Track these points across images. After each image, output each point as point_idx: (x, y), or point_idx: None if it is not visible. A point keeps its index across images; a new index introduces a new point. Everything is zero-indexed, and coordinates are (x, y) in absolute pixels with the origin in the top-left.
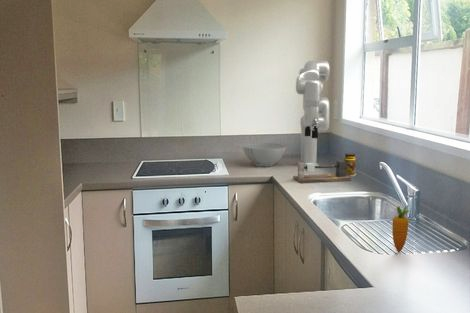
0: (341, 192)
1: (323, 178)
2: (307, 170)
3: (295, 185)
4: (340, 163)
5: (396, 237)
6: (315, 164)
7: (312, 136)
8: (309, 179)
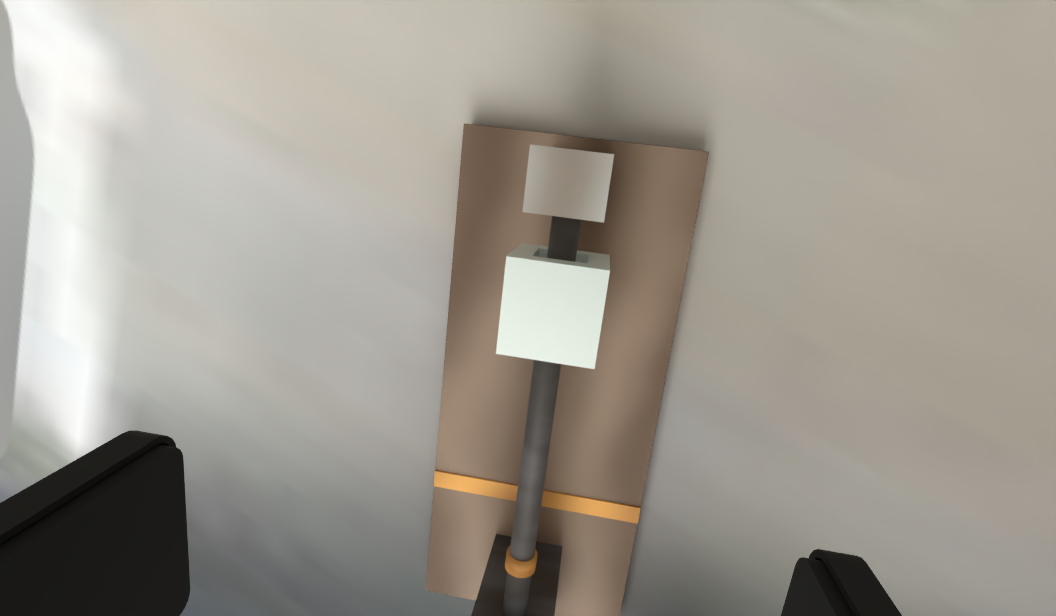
0: (94, 283)
1: (480, 377)
2: (522, 245)
3: (403, 26)
4: None
5: None
6: None
7: (91, 471)
8: (480, 229)
